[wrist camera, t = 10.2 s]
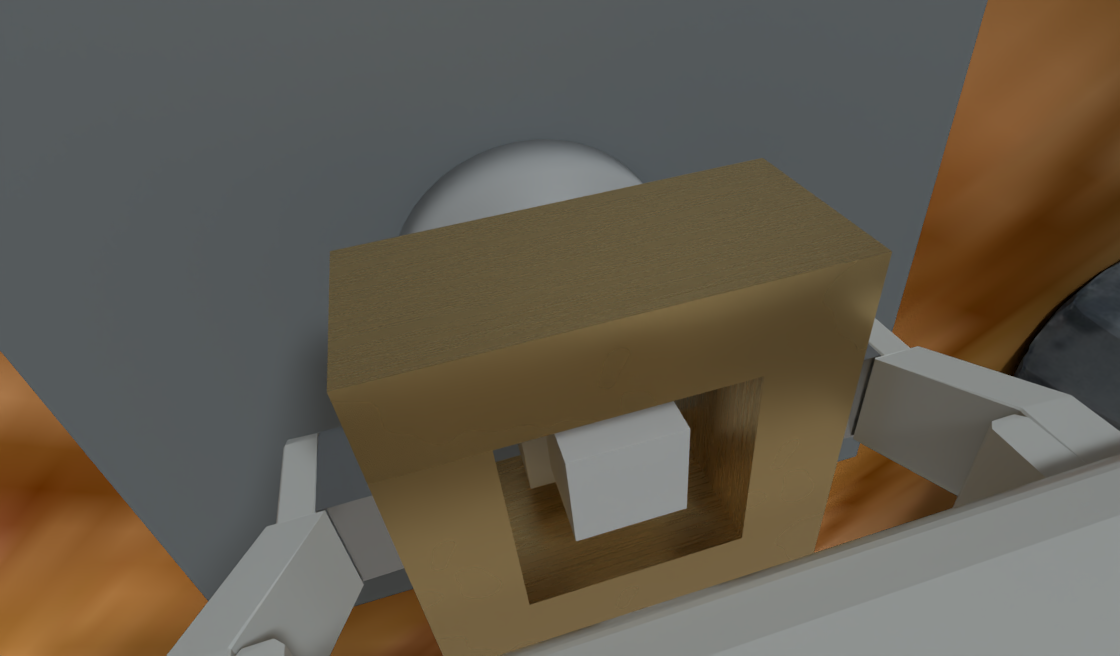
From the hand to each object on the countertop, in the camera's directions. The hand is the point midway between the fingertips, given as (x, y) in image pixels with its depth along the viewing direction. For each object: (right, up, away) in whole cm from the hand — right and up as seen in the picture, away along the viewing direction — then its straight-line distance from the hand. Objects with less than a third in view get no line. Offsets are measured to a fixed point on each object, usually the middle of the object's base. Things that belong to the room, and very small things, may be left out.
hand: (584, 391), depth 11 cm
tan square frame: (0, 0, 0) cm, 1 cm away
